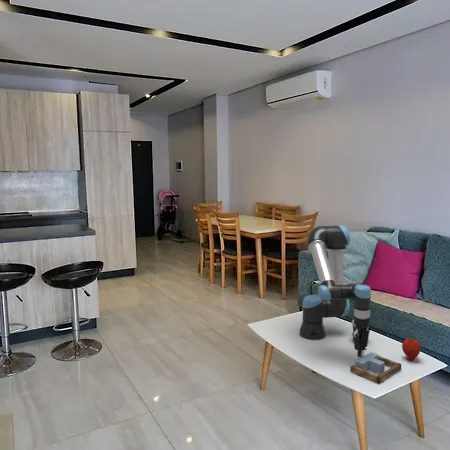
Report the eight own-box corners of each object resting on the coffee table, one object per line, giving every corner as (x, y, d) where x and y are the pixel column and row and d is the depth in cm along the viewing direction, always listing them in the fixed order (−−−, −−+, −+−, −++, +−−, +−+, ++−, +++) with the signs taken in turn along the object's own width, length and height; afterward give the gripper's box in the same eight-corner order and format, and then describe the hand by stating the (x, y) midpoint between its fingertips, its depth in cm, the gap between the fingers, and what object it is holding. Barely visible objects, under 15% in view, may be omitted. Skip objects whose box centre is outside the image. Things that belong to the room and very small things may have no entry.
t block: (355, 370, 194) (355, 360, 193) (370, 361, 203) (371, 352, 202) (374, 378, 186) (374, 368, 186) (389, 368, 195) (390, 358, 194)
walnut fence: (350, 371, 193) (350, 366, 192) (372, 359, 205) (372, 353, 205) (379, 384, 181) (379, 378, 181) (401, 369, 194) (401, 363, 193)
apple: (397, 357, 206) (398, 337, 205) (409, 354, 210) (410, 334, 208) (411, 364, 198) (412, 344, 197) (423, 361, 202) (424, 340, 201)
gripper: (361, 322, 189) (359, 369, 192) (375, 315, 197) (374, 360, 200) (347, 317, 195) (346, 363, 198) (362, 311, 203) (361, 355, 206)
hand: (360, 362), depth 199 cm, fingers closed
